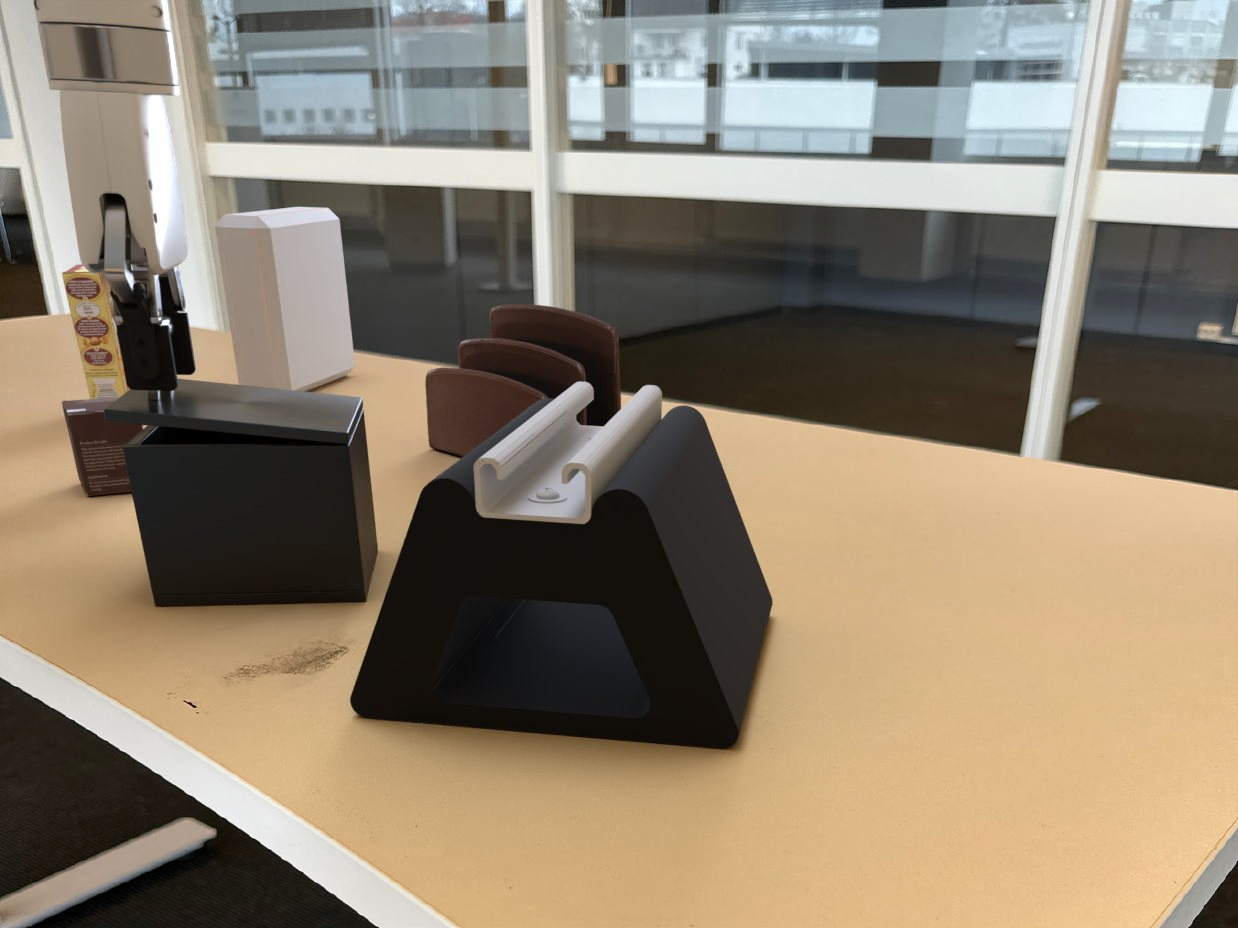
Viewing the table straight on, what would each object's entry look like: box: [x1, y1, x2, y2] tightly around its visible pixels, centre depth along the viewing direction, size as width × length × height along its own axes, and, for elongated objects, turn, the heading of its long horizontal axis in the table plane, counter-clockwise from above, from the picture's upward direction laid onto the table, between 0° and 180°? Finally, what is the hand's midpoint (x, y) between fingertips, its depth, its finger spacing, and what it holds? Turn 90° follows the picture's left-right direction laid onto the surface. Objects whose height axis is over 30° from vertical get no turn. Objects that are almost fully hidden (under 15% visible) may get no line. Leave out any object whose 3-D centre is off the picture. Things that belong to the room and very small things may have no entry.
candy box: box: [61, 263, 130, 399], centre depth 137 cm, size 9×4×15 cm, turn 13°
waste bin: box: [123, 408, 379, 607], centre depth 89 cm, size 15×13×11 cm
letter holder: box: [424, 303, 622, 458], centre depth 123 cm, size 10×20×14 cm, turn 45°
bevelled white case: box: [214, 206, 356, 392], centre depth 154 cm, size 21×8×20 cm, turn 169°
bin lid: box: [104, 311, 364, 444], centre depth 85 cm, size 15×13×6 cm
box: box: [61, 397, 144, 497], centre depth 112 cm, size 6×6×7 cm
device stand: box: [349, 382, 774, 750], centre depth 75 cm, size 22×22×15 cm
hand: (162, 378), depth 84 cm, fingers closed on bin lid, 5 cm apart
